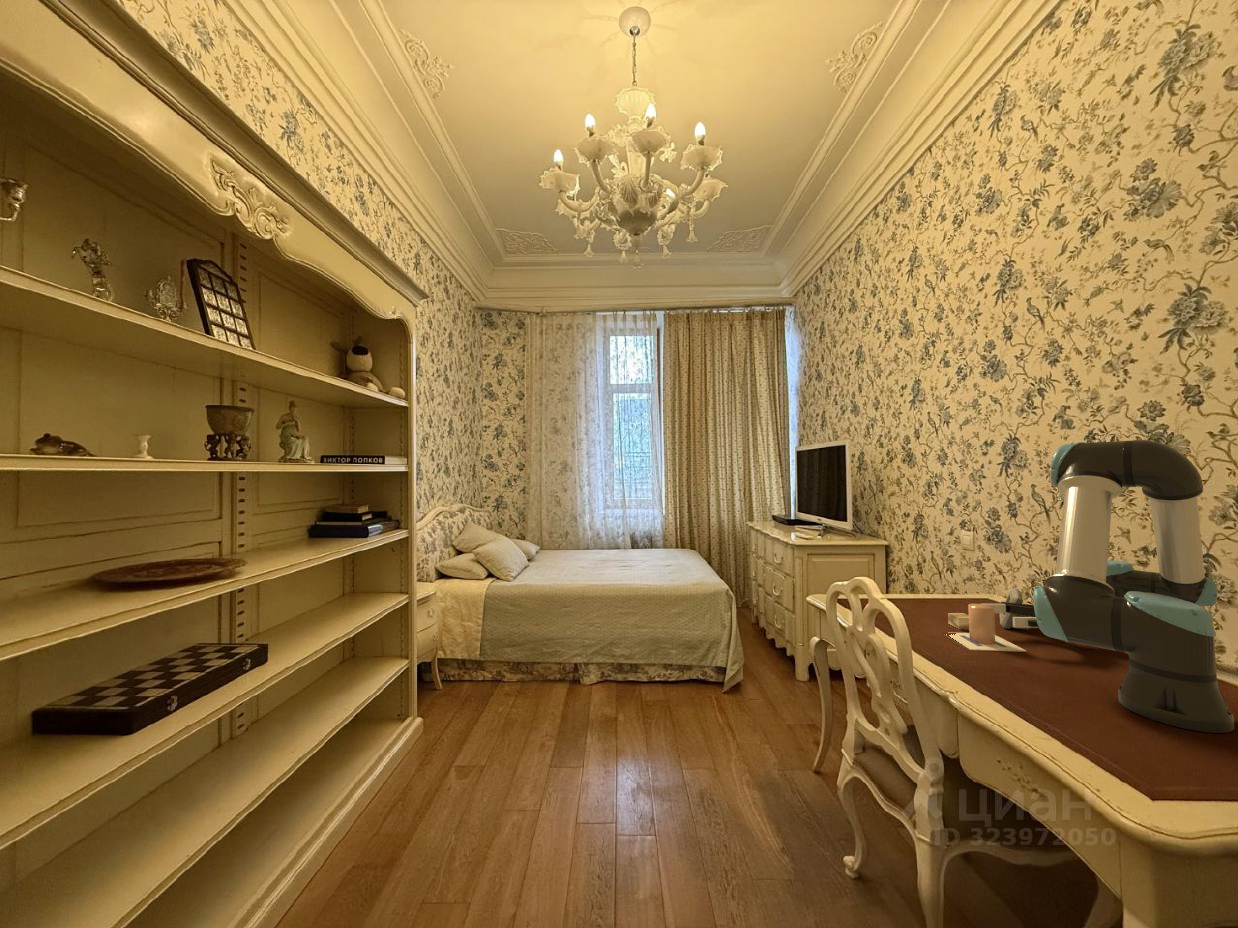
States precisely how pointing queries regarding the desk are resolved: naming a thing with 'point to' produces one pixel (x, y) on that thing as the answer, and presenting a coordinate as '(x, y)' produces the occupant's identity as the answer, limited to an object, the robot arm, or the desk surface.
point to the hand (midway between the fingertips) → (996, 614)
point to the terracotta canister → (981, 624)
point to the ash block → (959, 620)
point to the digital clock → (1007, 618)
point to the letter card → (998, 646)
